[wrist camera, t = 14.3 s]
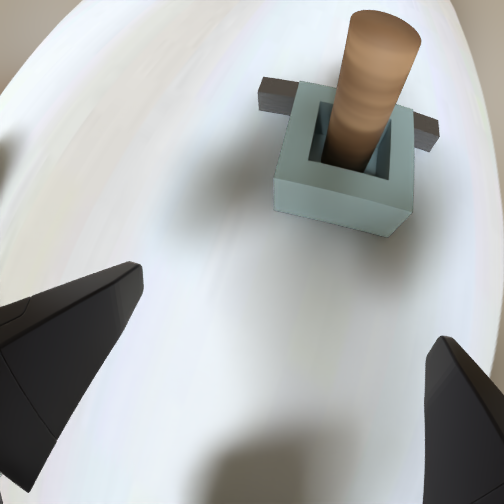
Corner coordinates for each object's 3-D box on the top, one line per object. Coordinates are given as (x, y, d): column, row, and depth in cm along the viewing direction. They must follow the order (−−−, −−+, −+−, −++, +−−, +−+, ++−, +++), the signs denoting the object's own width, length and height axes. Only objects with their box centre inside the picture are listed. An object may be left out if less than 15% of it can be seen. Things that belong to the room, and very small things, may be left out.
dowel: (368, 182, 23) (431, 55, 11) (323, 182, 23) (360, 44, 11) (360, 144, 24) (406, 16, 12) (318, 143, 24) (343, 6, 12)
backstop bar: (429, 152, 25) (439, 136, 23) (259, 110, 27) (257, 91, 25) (428, 135, 25) (438, 120, 23) (264, 95, 27) (263, 76, 25)
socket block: (387, 237, 23) (412, 212, 18) (273, 210, 24) (273, 177, 19) (394, 144, 25) (413, 109, 20) (296, 120, 26) (299, 80, 22)
